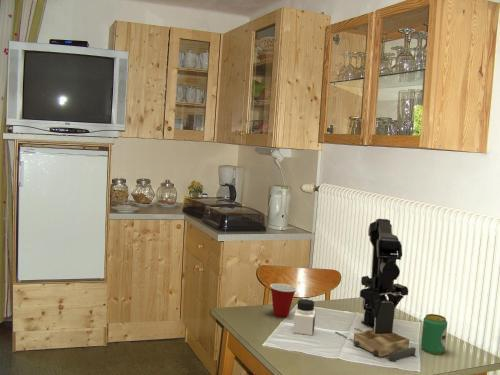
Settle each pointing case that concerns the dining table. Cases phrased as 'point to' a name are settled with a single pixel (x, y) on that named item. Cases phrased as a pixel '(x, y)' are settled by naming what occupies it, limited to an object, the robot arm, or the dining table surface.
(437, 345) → the beverage can
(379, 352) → the shallow wooden tray
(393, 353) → the rails
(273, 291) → the plastic cup
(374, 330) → the battery charger
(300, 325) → the medicine bottle
